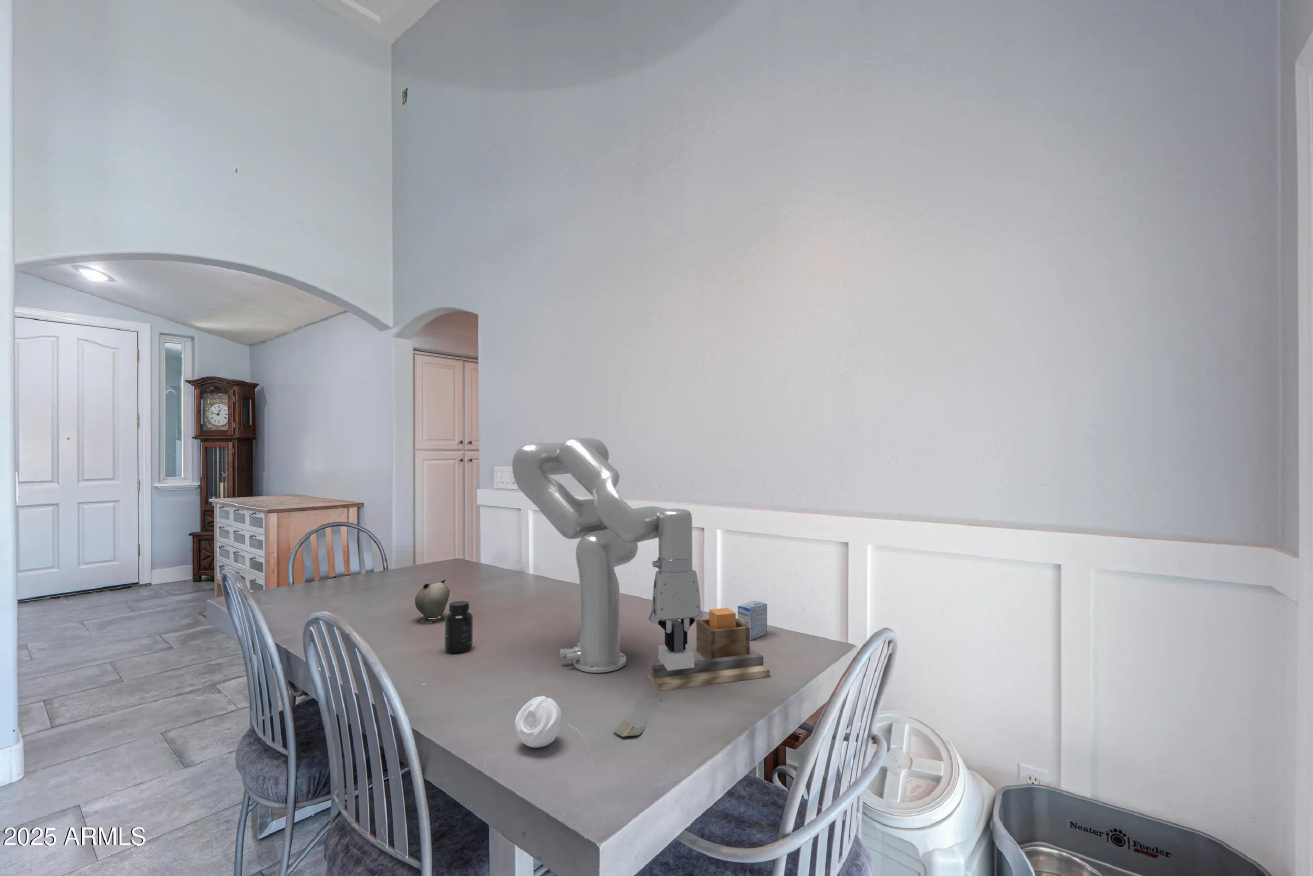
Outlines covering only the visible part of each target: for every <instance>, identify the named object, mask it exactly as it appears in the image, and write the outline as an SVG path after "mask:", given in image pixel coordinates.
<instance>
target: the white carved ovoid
mask: <svg viewBox="0 0 1313 876" xmlns="http://www.w3.org/2000/svg"><path fill="white" fill-rule="evenodd" d="M561 726H562V710H561V708H560V707H559V705H558V703H557V702H556V701H555V700H554V699H552V698H551V697H546V696H545V695H541V696H536V697H534V698H533V697H532V698H531V699H529V701H528V702H526V703H525V704H524V706H522V707H521V709H520V710H519V711H518V713H517V715H516V718H515V721H514V727H515V733H516V735H517V738H518V740H520V742H521V743H522V744H524V745H525V746H527V747H529V748H530V747H531V748H534V749H535V748H537V749H539V748H543V747H546V746H548V745H550V744H551V743H552V742H554V741H555V740H556V738H557V736H558V734H559V733H560V730H561Z"/></svg>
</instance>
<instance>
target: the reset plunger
mask: <svg viewBox="0 0 1313 876" xmlns="http://www.w3.org/2000/svg"><path fill="white" fill-rule="evenodd" d="M708 613H709V614H708V616H709V617H708V618H709V627H711V628H712V629H713V630H717V629H727V628H736V619H737V613H736V612H735V611H733V610H732V609H730V608H729V607H722V608H714V609H713V608H712V609H711V608H709V609H708Z"/></svg>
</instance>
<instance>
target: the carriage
mask: <svg viewBox="0 0 1313 876" xmlns="http://www.w3.org/2000/svg"><path fill="white" fill-rule="evenodd" d="M672 632H673V633H674V650H673V651H670V650H669V649H668V648H667V647H666V646H665V644H664V645H658V660H659V661H660V663H661V665H662V664H663V665H664V666H665V668H666V669H667V670H668V671H669V670H678V669H686V668H694V661H695V653H694V652H693V650H692V649H690V647H688V646H687V645H686V650H683V624H682V623H681V622H680V619H674V620H672Z"/></svg>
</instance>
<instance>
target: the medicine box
mask: <svg viewBox="0 0 1313 876" xmlns="http://www.w3.org/2000/svg"><path fill="white" fill-rule="evenodd" d="M737 619H738V620H739V621H741V622H742V623H744V624H745V625H747V626H748V627H749V628H750V641H753V640H755V639H758V638H760V637H762V636H764V635H767V634H768V603H766V602H762V601H759V600H752V601H749V602H746V603H743V604H739V605H738V606H737Z"/></svg>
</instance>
